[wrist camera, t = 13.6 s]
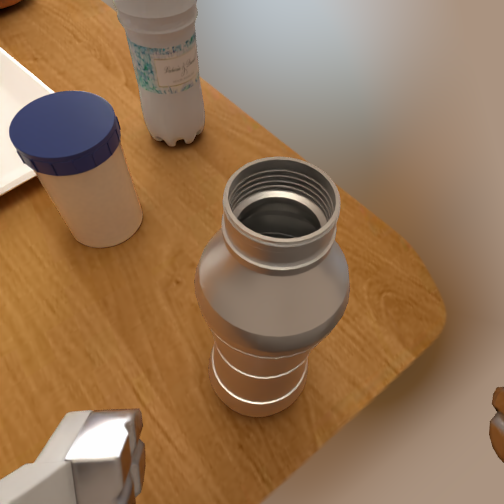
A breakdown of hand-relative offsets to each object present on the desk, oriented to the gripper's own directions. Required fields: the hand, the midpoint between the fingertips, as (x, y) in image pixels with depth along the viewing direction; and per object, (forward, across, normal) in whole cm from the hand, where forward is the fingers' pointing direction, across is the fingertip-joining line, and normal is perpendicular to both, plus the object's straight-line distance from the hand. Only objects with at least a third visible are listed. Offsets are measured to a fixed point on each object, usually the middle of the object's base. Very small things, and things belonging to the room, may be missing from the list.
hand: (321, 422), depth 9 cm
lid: (+22, +13, -9) cm, 27 cm away
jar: (+29, +13, -1) cm, 32 cm away
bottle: (+38, +7, -10) cm, 40 cm away
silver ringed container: (+19, 0, +10) cm, 21 cm away
